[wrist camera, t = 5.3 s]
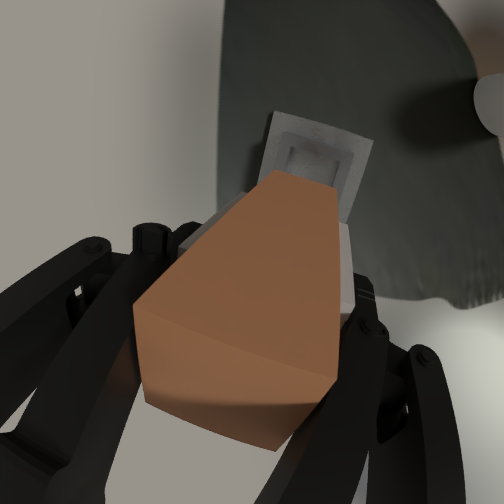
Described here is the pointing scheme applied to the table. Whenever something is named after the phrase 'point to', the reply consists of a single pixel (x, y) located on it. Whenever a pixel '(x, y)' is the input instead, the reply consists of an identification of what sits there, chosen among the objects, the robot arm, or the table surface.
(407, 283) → the table surface
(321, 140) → the grey square socket
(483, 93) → the beverage can
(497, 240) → the table surface
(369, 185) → the table surface
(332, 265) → the orange square peg
